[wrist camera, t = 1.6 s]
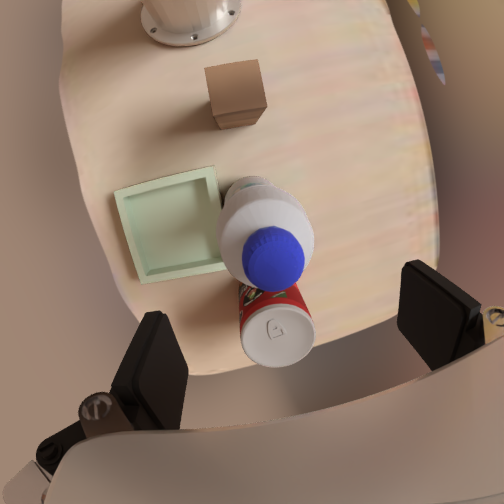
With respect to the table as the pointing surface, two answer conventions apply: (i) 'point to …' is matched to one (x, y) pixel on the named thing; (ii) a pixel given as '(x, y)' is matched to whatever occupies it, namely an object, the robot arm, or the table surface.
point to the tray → (172, 225)
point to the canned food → (274, 326)
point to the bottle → (264, 235)
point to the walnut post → (236, 93)
